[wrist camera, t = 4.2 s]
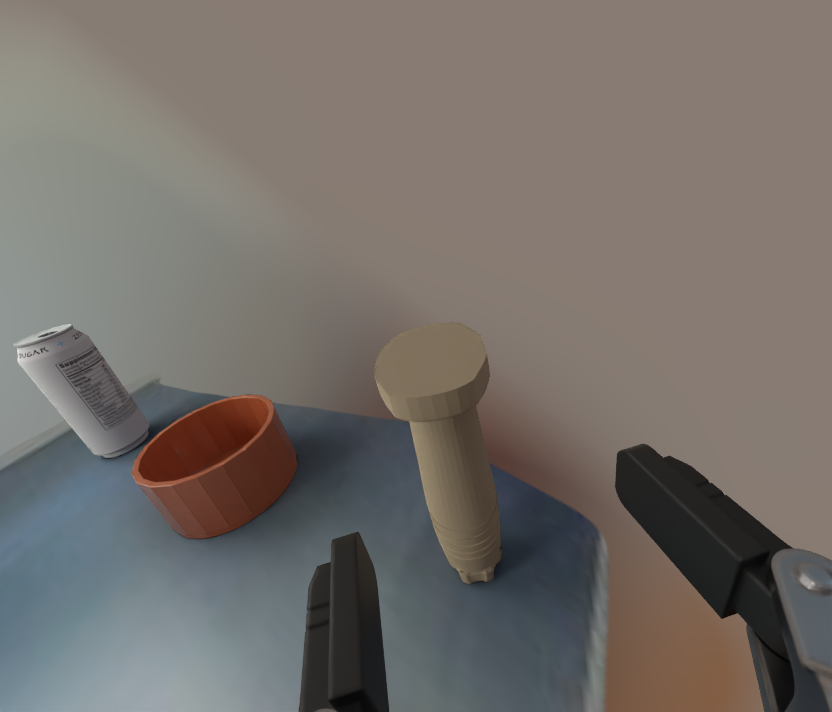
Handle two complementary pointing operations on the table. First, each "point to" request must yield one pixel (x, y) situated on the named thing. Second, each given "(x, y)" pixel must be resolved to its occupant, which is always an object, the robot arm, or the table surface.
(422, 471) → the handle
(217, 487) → the holder
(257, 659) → the table surface
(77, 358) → the energy drink can
